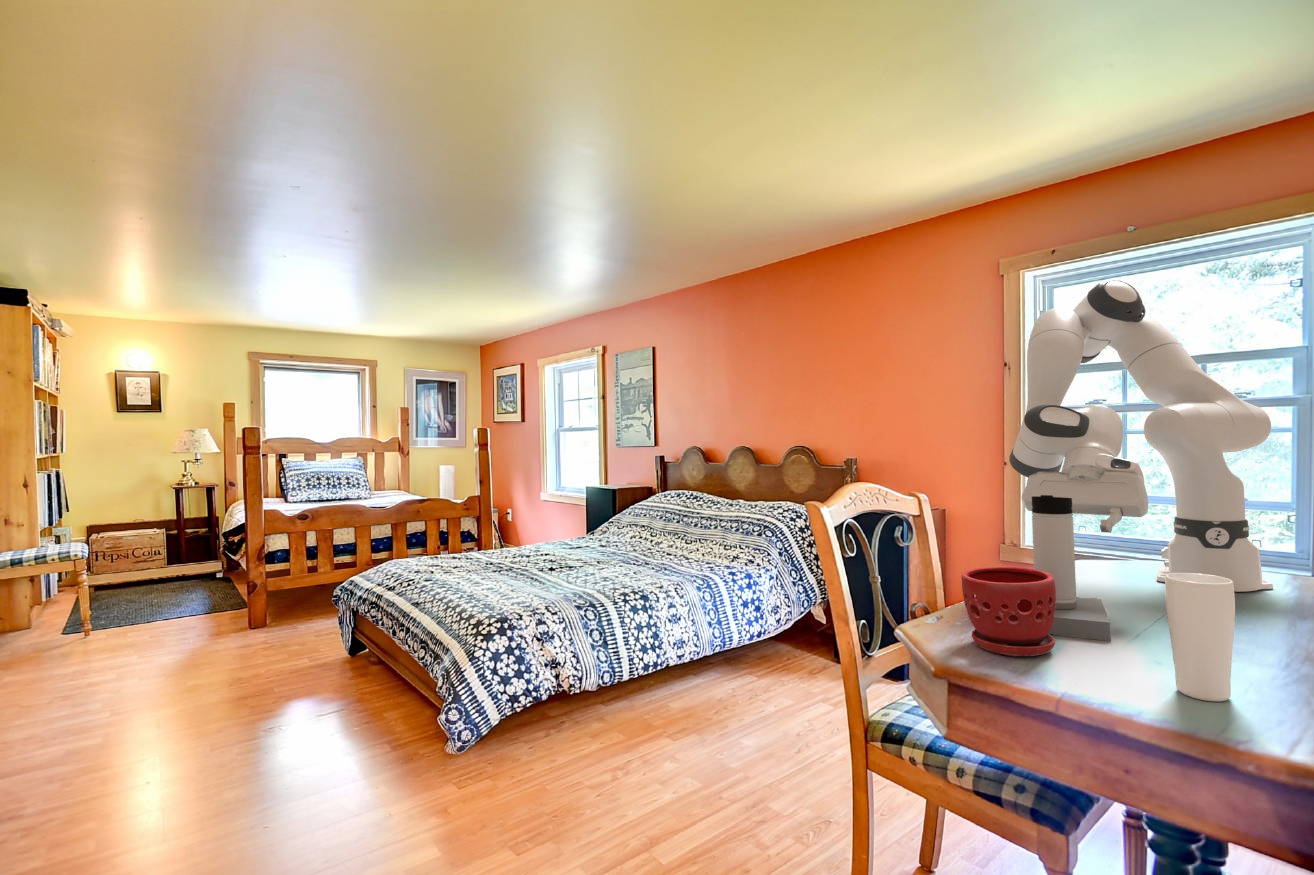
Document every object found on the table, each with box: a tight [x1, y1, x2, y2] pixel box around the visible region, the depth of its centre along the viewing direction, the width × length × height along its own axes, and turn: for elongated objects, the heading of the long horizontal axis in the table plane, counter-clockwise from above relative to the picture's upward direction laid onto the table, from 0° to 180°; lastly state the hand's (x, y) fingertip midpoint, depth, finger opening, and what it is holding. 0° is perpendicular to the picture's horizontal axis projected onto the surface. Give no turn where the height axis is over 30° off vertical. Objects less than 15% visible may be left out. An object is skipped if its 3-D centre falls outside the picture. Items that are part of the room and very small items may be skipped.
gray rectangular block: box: [1018, 596, 1112, 642], centre depth 113 cm, size 16×14×3 cm
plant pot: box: [960, 566, 1056, 658], centre depth 101 cm, size 13×13×12 cm
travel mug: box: [1031, 495, 1077, 610], centre depth 113 cm, size 6×7×20 cm
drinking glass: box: [1164, 573, 1236, 703], centre depth 81 cm, size 7×7×15 cm
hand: (1075, 528), depth 118 cm, fingers open, 8 cm apart
